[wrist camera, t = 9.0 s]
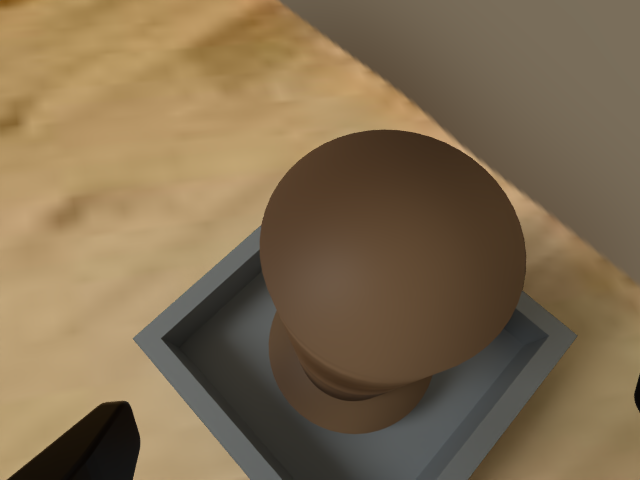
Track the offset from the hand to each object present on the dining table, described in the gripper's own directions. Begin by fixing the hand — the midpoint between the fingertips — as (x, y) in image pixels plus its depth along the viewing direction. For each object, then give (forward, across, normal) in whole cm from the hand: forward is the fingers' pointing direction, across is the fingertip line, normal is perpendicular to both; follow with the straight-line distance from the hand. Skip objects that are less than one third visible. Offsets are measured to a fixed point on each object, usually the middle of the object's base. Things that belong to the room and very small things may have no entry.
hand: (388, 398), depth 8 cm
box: (+11, 0, +7) cm, 13 cm away
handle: (+10, 0, +7) cm, 12 cm away
